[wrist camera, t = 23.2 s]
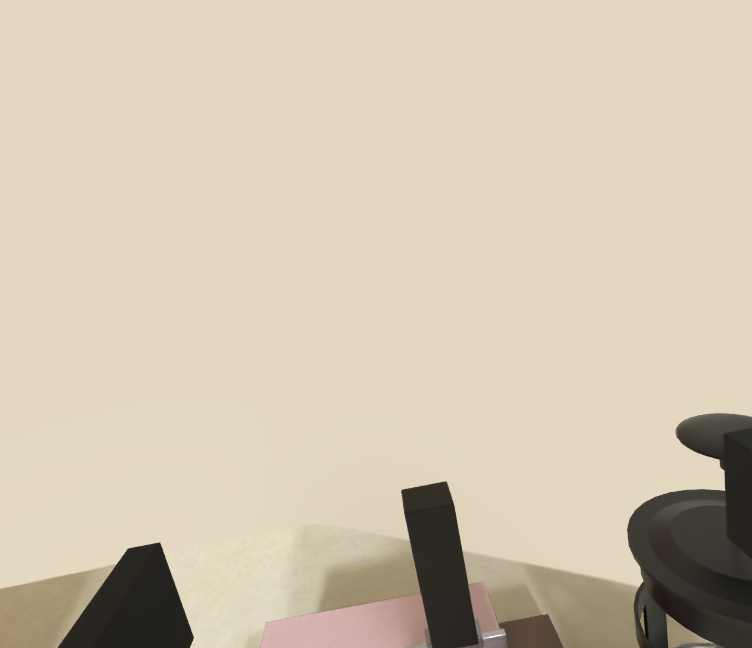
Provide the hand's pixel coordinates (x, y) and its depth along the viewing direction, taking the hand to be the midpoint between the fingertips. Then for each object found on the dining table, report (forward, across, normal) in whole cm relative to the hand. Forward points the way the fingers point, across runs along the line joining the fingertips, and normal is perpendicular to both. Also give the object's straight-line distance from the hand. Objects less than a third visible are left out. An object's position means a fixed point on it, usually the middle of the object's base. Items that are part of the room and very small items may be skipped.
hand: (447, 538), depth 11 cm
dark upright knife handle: (+13, 0, -26) cm, 29 cm away
